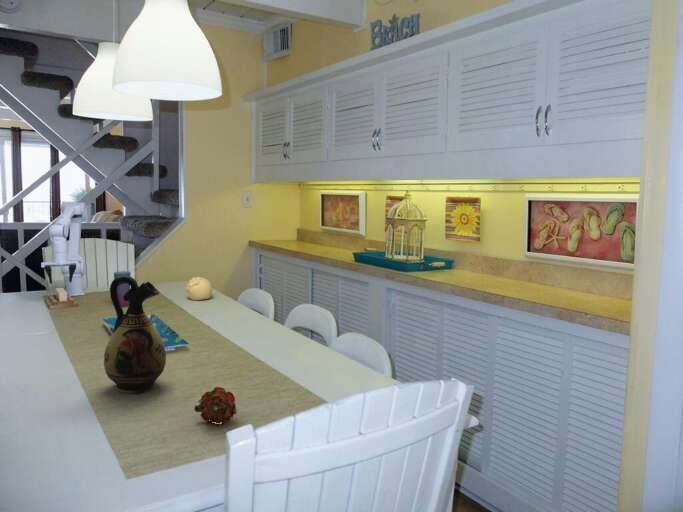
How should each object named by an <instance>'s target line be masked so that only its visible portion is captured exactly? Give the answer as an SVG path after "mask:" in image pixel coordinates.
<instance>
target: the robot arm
mask: <svg viewBox="0 0 683 512" xmlns="http://www.w3.org/2000/svg"><path fill="white" fill-rule="evenodd" d="M86 205H87V204H85V202H83V201H82V202H78V201H77V202H76V201H75V202H74V201H73V202H72V201H71V202H70V201H68V202H67V201H63V202H61V205H60V210H61V211H60V212H61V215H59V216H58V217H57V218H56V220H55V222H54V224H51V225H50V226H49V230H48V231H49V232H48V235H49V239H50V242H51V250H52V251H51V252H52V253H51V257H52V261H46V262H45V261H44V262H41V263H40V267H41V268H43V269H44V271H45V273H46V274H47V277H48V280H49V284H53V278H52V268H54V267H60V272H61V275H63V276H64V277H65V291H66V292H67V294H69V295H70V296H71V297H76V296H85V295H86V293H85V292H84V286H83V285H84V284H83V283H84V282H83V276H85V274H86V272H87V266H86V265H87V264H86V260H85V258H84V257H82V256H81V251H80V250H81V233H82V223H83V222H84V221H85V220H86V217H87V206H86ZM68 236H69V240H68V241H69V242H68V244H67V238H68ZM67 245H68V247H67Z"/></svg>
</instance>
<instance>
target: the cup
mask: <svg viewBox="0 0 683 512" xmlns="http://www.w3.org/2000/svg"><path fill="white" fill-rule="evenodd" d="M122 275H126V276H130V277H131V271H129V270H128V271H127V270H126V271H125V270H121V271H114V272H113V280H114V279H115V278H117V277H119V276H122ZM130 289H131V286H130V285H129V284H127V283H125V284H120V285H119V286H118V288H117V293H118V297H119V300H120V304H121V307H122V308H128V307H129V301H125V300H124V298H123V297H124V295H125V294H126V292H127V291H129V290H130Z"/></svg>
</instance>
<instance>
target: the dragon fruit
mask: <svg viewBox="0 0 683 512" xmlns="http://www.w3.org/2000/svg"><path fill="white" fill-rule="evenodd" d="M197 403H199V404H198V405H197V404H195V405H194V411H195V412H196V413H199V412H200V417H201V418H202V419H201V420H203V421H204V422H206V421H209V420H210V421H211V422H210V423H212V422H216V423H220V422H222V423H223V424H226V423H228V422H229V421H230V419H231V417H232V418H233V417H234V416H235V414H237V407H236V398H235V395H234V393H232V392H231V391H226V389H225V388H224V387H220V386H215V387H214V388H213V390H211V391H206V392H205V393H204V394H203V395H201V399H199V400H198V401H197Z"/></svg>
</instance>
